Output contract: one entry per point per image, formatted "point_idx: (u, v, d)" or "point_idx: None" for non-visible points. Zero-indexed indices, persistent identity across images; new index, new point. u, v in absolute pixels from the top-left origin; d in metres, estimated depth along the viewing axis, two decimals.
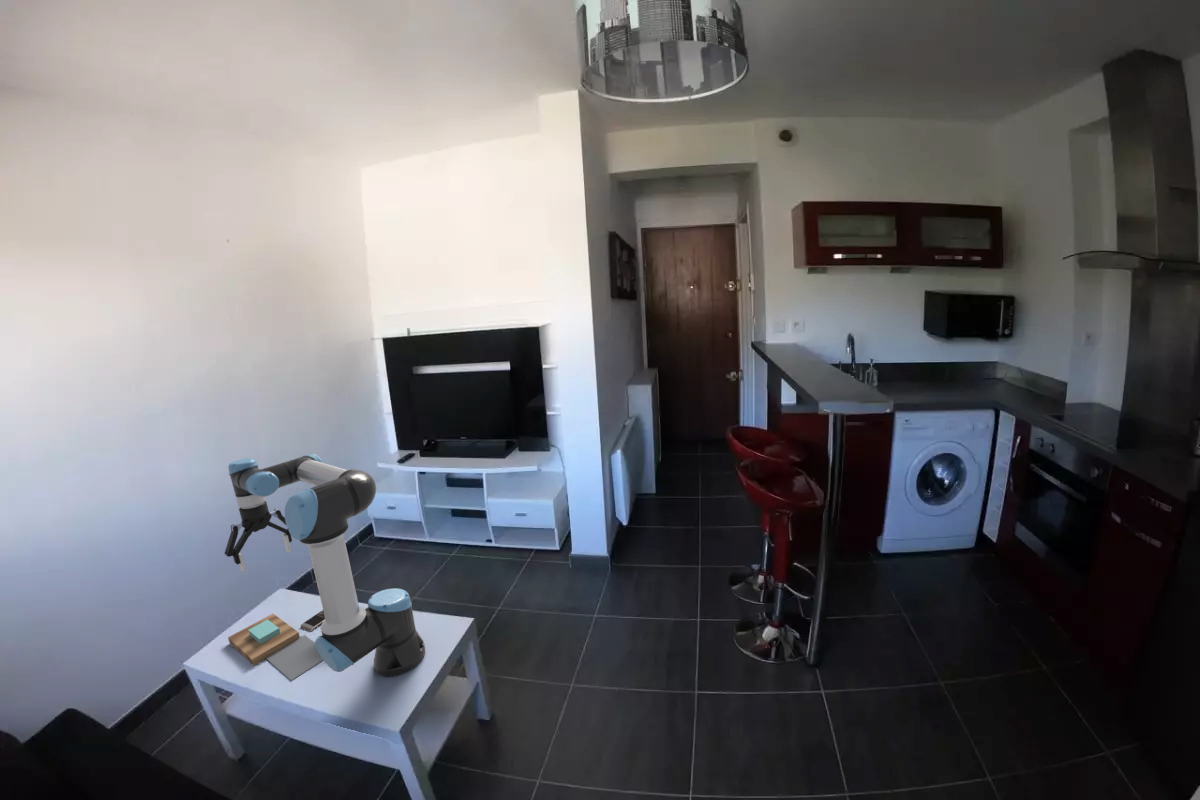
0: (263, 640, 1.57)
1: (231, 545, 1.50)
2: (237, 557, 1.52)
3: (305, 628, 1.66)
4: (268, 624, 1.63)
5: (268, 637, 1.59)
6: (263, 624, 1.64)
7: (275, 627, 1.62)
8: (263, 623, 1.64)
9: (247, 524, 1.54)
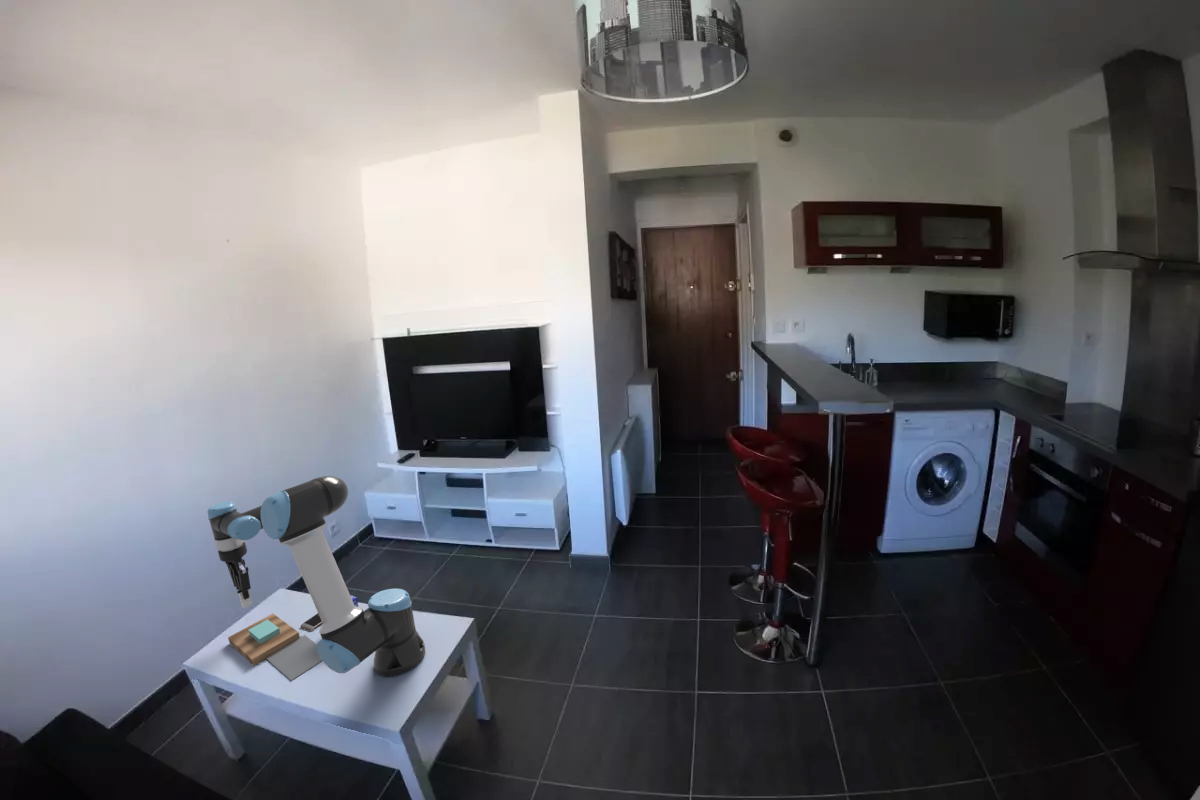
0: (263, 640, 1.57)
1: (231, 577, 1.64)
2: None
3: (305, 628, 1.66)
4: (268, 624, 1.63)
5: (268, 637, 1.59)
6: (263, 624, 1.64)
7: (275, 627, 1.62)
8: (263, 623, 1.64)
9: None
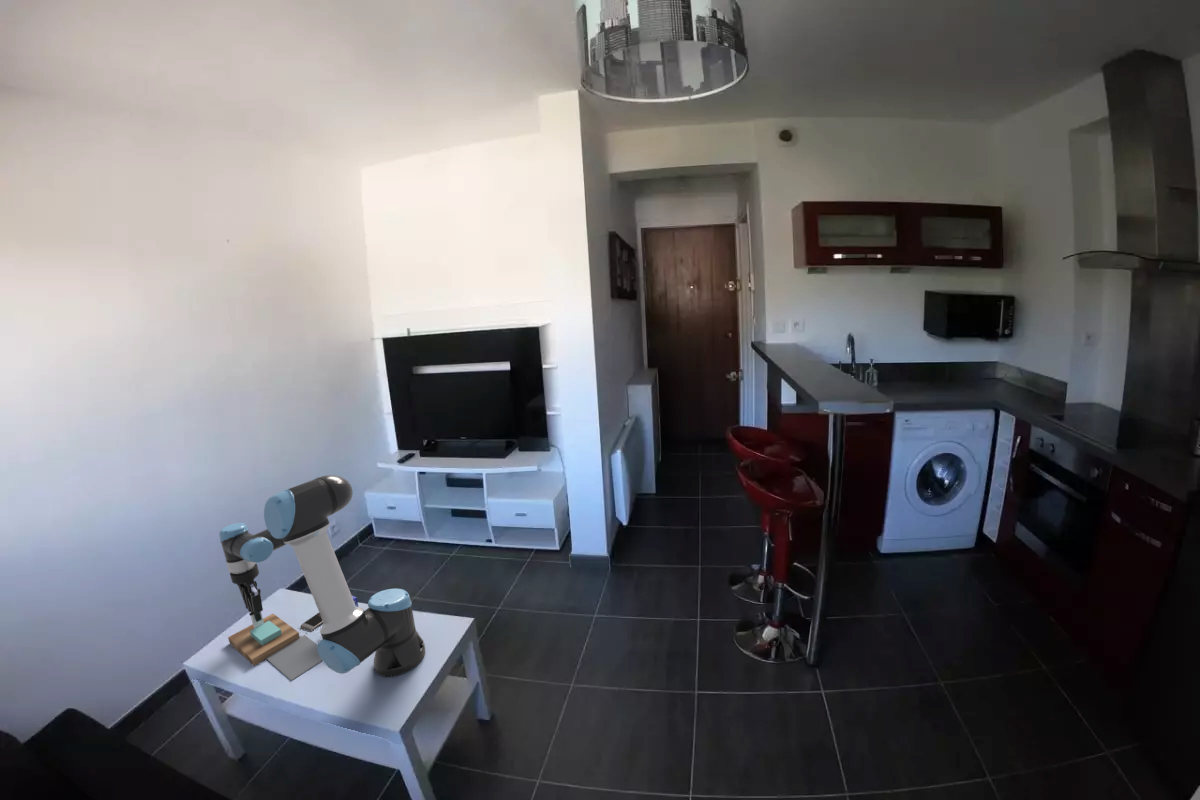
0: (265, 641, 1.57)
1: (243, 599, 1.63)
2: None
3: (305, 628, 1.66)
4: (269, 626, 1.63)
5: (270, 638, 1.58)
6: (265, 625, 1.63)
7: (277, 628, 1.61)
8: (265, 624, 1.63)
9: None
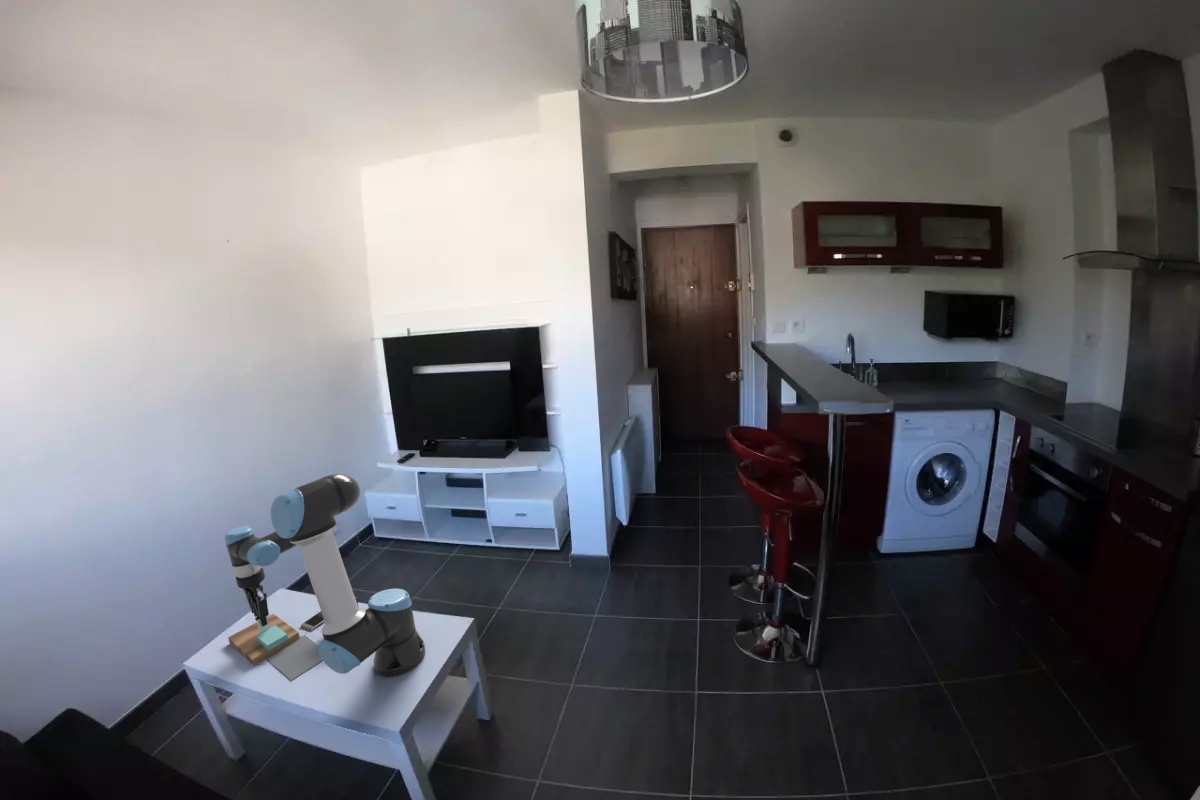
0: (271, 646, 1.54)
1: (249, 603, 1.60)
2: None
3: (305, 628, 1.66)
4: (276, 630, 1.60)
5: (276, 643, 1.55)
6: (271, 630, 1.60)
7: (283, 633, 1.58)
8: (271, 629, 1.61)
9: None
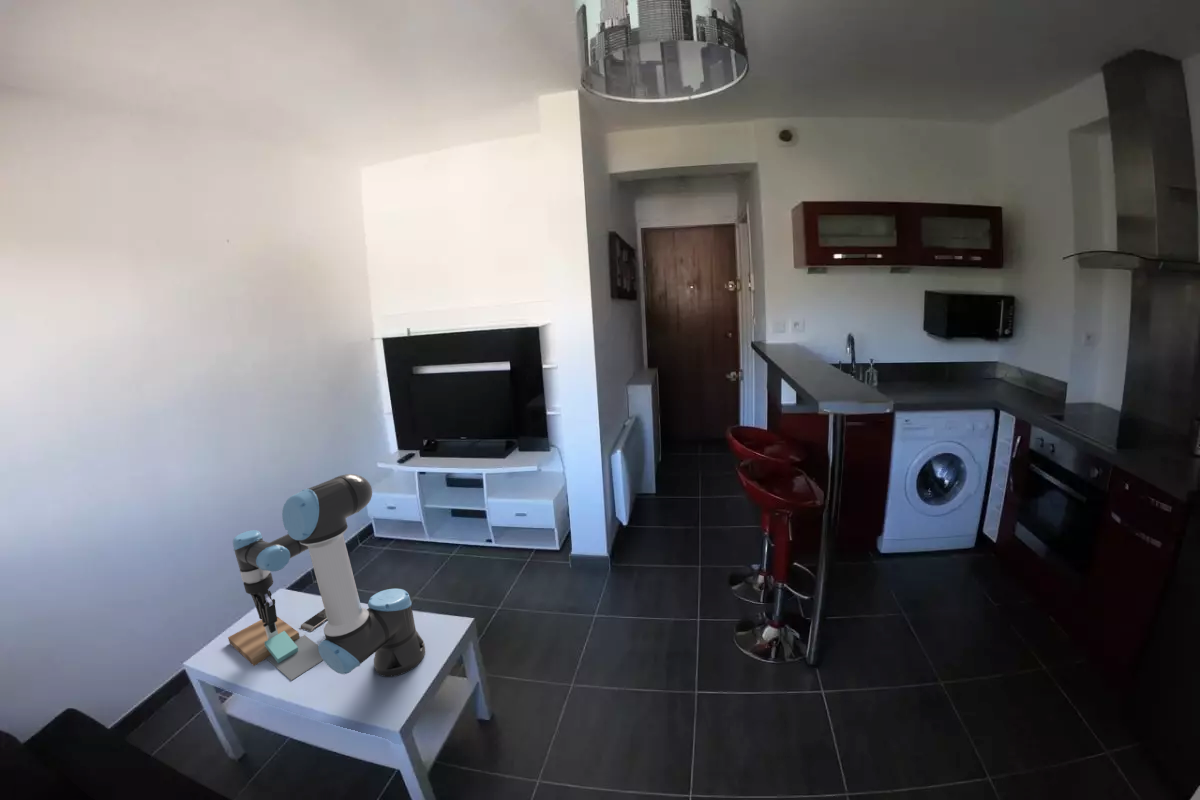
0: (281, 659, 1.51)
1: (257, 609, 1.56)
2: None
3: (305, 628, 1.66)
4: (285, 639, 1.56)
5: (286, 656, 1.53)
6: (280, 637, 1.57)
7: (293, 645, 1.55)
8: (280, 635, 1.57)
9: None
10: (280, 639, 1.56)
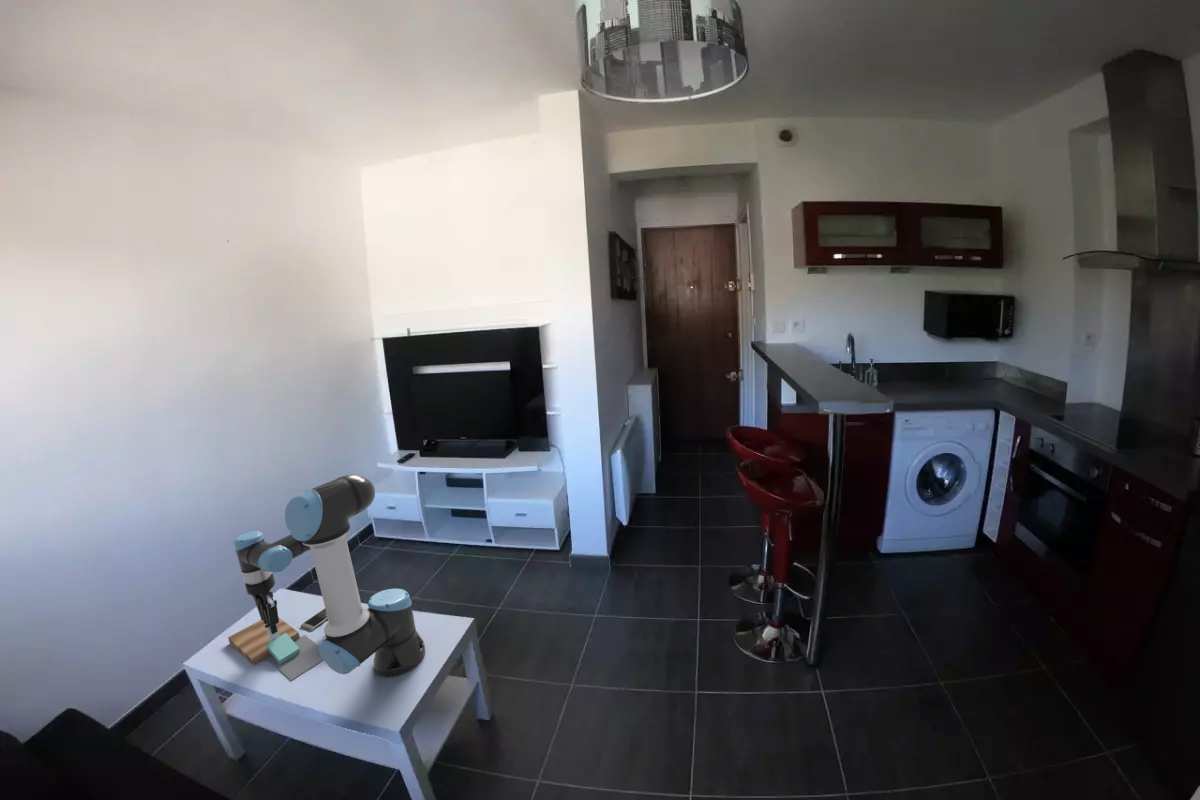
0: (283, 661, 1.51)
1: (258, 610, 1.56)
2: None
3: (305, 628, 1.66)
4: (287, 641, 1.56)
5: (288, 657, 1.52)
6: (282, 639, 1.56)
7: (295, 646, 1.55)
8: (281, 637, 1.56)
9: None
10: (282, 641, 1.55)
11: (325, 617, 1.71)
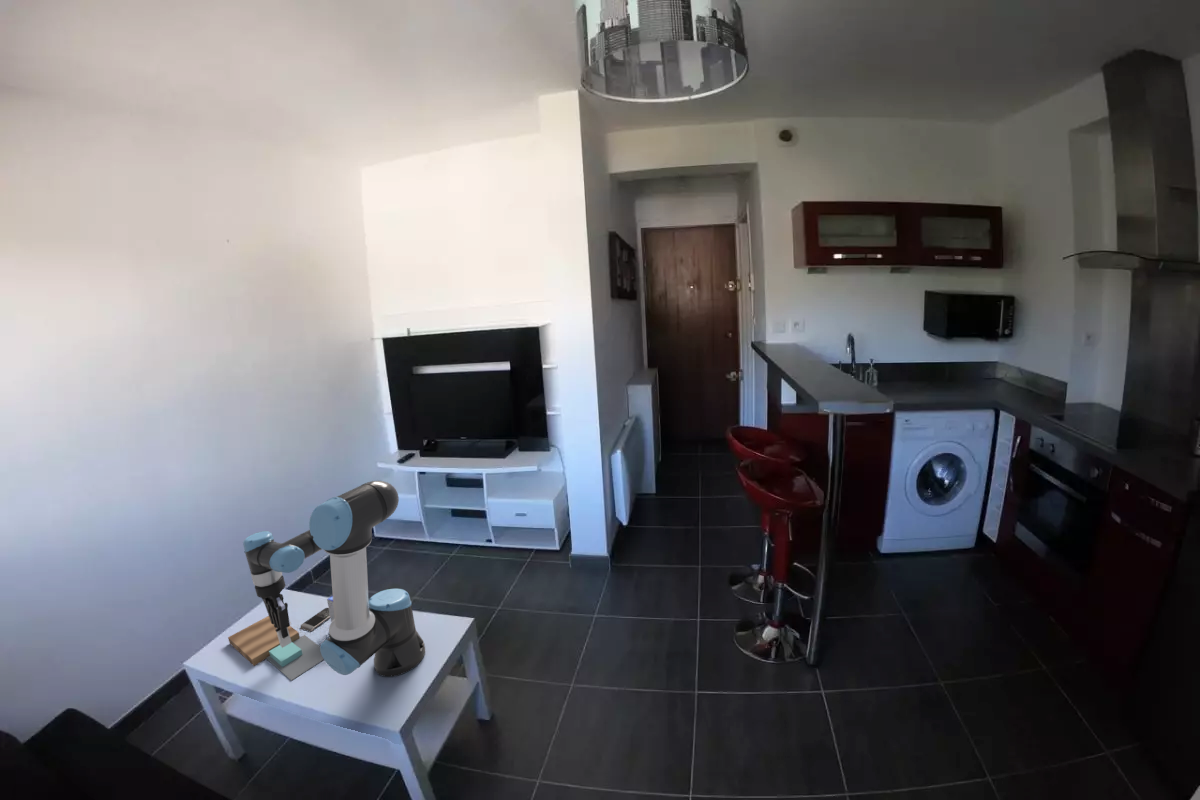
0: (285, 662, 1.50)
1: (268, 614, 1.50)
2: None
3: (305, 628, 1.66)
4: (289, 645, 1.55)
5: (290, 659, 1.51)
6: None
7: (297, 648, 1.54)
8: None
9: None
10: None
11: (325, 617, 1.71)
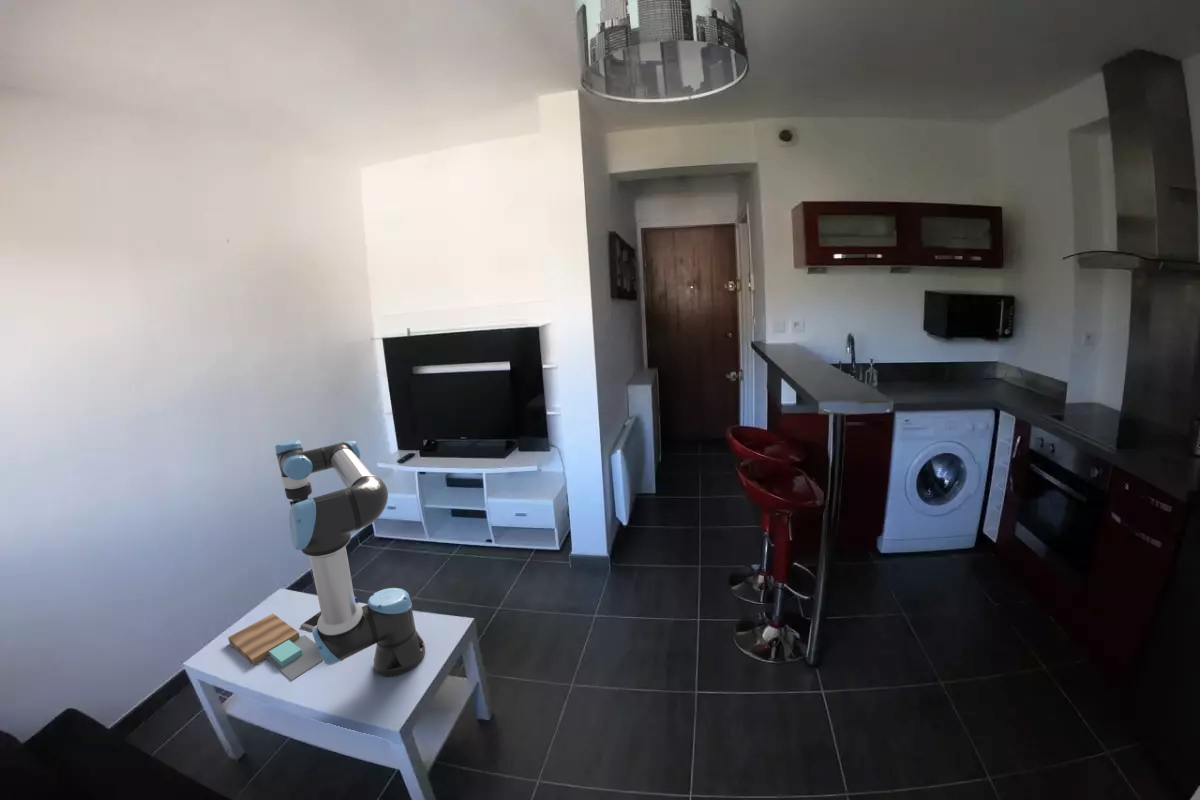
0: (285, 662, 1.50)
1: None
2: None
3: (305, 628, 1.66)
4: (289, 645, 1.55)
5: (290, 659, 1.51)
6: (284, 645, 1.56)
7: (297, 648, 1.54)
8: (284, 644, 1.56)
9: (293, 499, 1.61)
10: (284, 646, 1.55)
11: None
